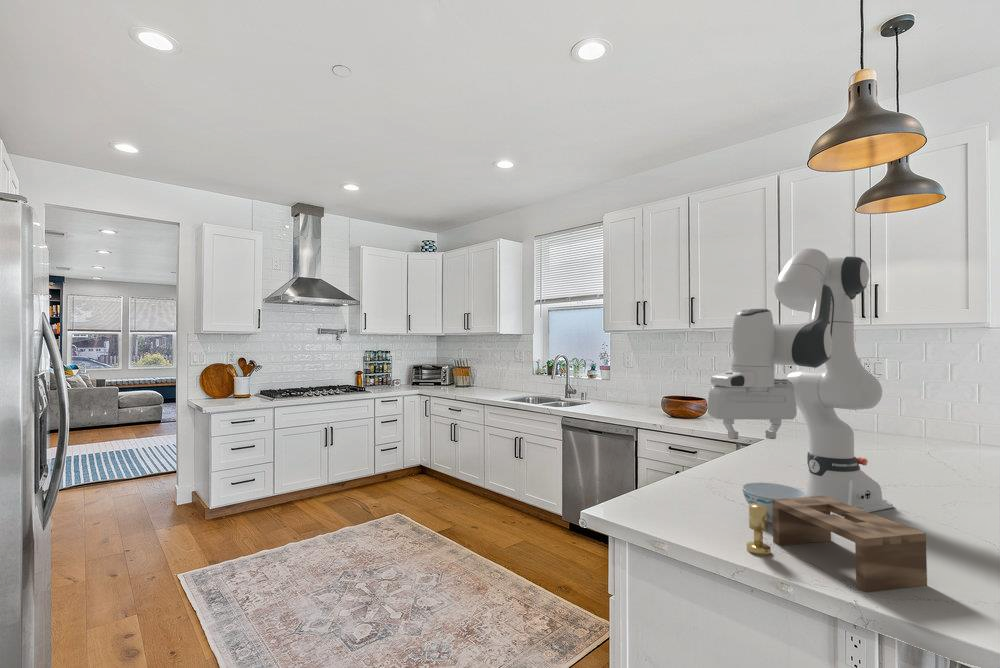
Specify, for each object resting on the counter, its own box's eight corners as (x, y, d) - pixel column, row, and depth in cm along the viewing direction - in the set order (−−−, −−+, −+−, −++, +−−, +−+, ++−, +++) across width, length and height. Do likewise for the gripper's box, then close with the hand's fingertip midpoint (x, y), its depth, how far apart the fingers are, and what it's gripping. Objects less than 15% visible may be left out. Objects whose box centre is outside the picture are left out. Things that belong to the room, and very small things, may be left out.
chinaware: (732, 509, 138) (732, 482, 138) (786, 510, 137) (786, 482, 138) (759, 529, 123) (758, 499, 123) (820, 530, 122) (819, 499, 123)
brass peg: (760, 546, 113) (759, 502, 113) (775, 554, 108) (774, 508, 109) (742, 547, 112) (741, 503, 112) (756, 556, 108) (755, 510, 108)
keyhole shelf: (773, 541, 115) (772, 499, 116) (824, 537, 118) (823, 495, 118) (865, 592, 92) (864, 538, 92) (927, 585, 94) (925, 533, 95)
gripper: (783, 378, 117) (783, 436, 117) (704, 377, 114) (703, 436, 114) (803, 380, 111) (803, 441, 110) (719, 379, 108) (719, 441, 108)
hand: (752, 438), depth 112 cm, fingers open, 8 cm apart
